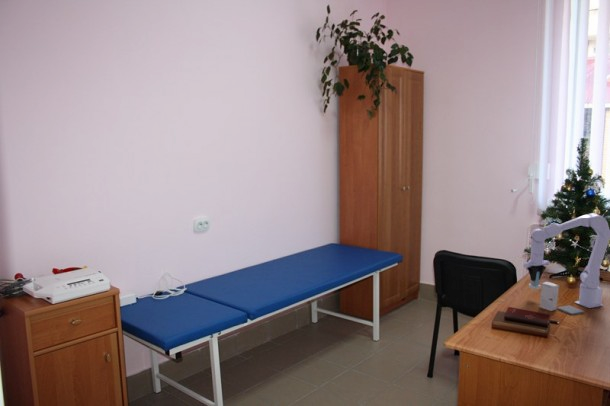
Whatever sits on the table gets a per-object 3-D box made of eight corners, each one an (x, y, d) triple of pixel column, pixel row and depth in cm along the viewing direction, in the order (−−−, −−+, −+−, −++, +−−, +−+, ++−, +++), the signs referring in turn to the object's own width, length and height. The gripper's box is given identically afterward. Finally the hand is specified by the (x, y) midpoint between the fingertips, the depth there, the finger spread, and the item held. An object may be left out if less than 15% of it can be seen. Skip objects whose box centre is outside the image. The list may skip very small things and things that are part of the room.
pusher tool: (534, 286, 233) (535, 269, 232) (541, 288, 229) (542, 271, 228) (528, 287, 231) (529, 270, 230) (534, 289, 228) (536, 272, 226)
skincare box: (539, 307, 220) (541, 282, 218) (544, 305, 222) (546, 281, 221) (551, 311, 215) (553, 286, 213) (557, 309, 217) (559, 284, 215)
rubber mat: (569, 306, 221) (569, 305, 220) (584, 312, 213) (584, 311, 213) (556, 309, 218) (556, 307, 218) (571, 315, 210) (572, 313, 210)
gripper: (541, 250, 234) (539, 276, 236) (519, 252, 229) (517, 279, 231) (553, 253, 228) (551, 280, 229) (531, 256, 222) (529, 283, 224)
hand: (535, 280), depth 230 cm, fingers closed on pusher tool, 2 cm apart
